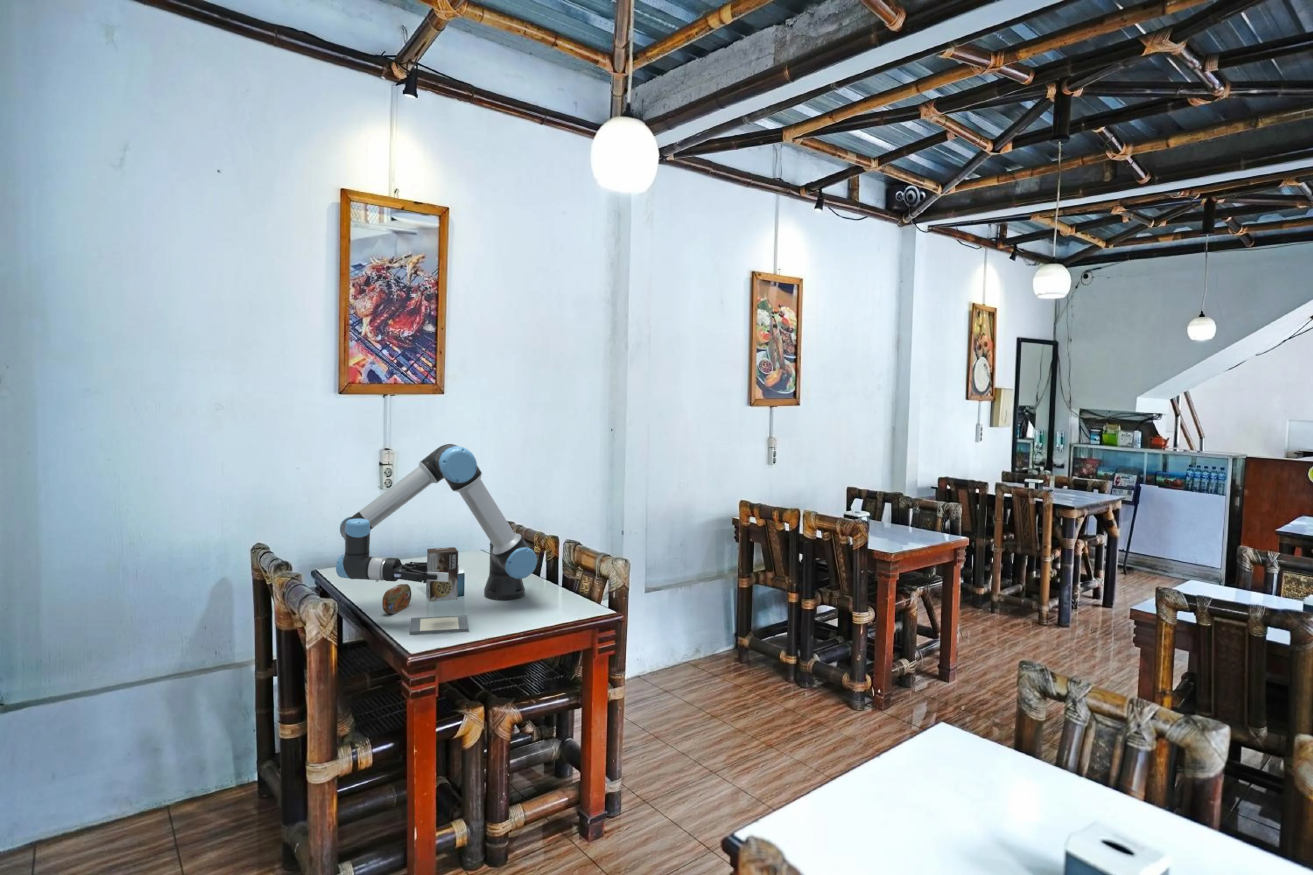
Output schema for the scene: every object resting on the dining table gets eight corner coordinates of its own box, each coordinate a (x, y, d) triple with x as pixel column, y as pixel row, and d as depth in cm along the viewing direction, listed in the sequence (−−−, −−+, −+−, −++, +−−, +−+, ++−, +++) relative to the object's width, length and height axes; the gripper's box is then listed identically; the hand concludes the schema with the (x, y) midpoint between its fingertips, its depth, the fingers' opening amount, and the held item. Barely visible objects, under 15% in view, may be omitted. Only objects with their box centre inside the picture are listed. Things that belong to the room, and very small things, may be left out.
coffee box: (454, 594, 248) (455, 546, 246) (457, 599, 242) (459, 550, 241) (425, 596, 244) (426, 548, 242) (428, 602, 238) (430, 552, 237)
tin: (388, 617, 251) (389, 592, 251) (380, 616, 252) (380, 591, 251) (412, 604, 266) (412, 581, 265) (404, 603, 267) (404, 580, 266)
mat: (466, 617, 254) (466, 614, 254) (468, 631, 240) (468, 628, 240) (411, 620, 248) (411, 617, 248) (409, 634, 235) (409, 631, 235)
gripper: (399, 572, 254) (463, 576, 253) (370, 589, 232) (441, 594, 231) (399, 550, 254) (464, 554, 253) (371, 565, 232) (441, 570, 231)
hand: (453, 573), depth 242 cm, fingers closed on coffee box, 9 cm apart
